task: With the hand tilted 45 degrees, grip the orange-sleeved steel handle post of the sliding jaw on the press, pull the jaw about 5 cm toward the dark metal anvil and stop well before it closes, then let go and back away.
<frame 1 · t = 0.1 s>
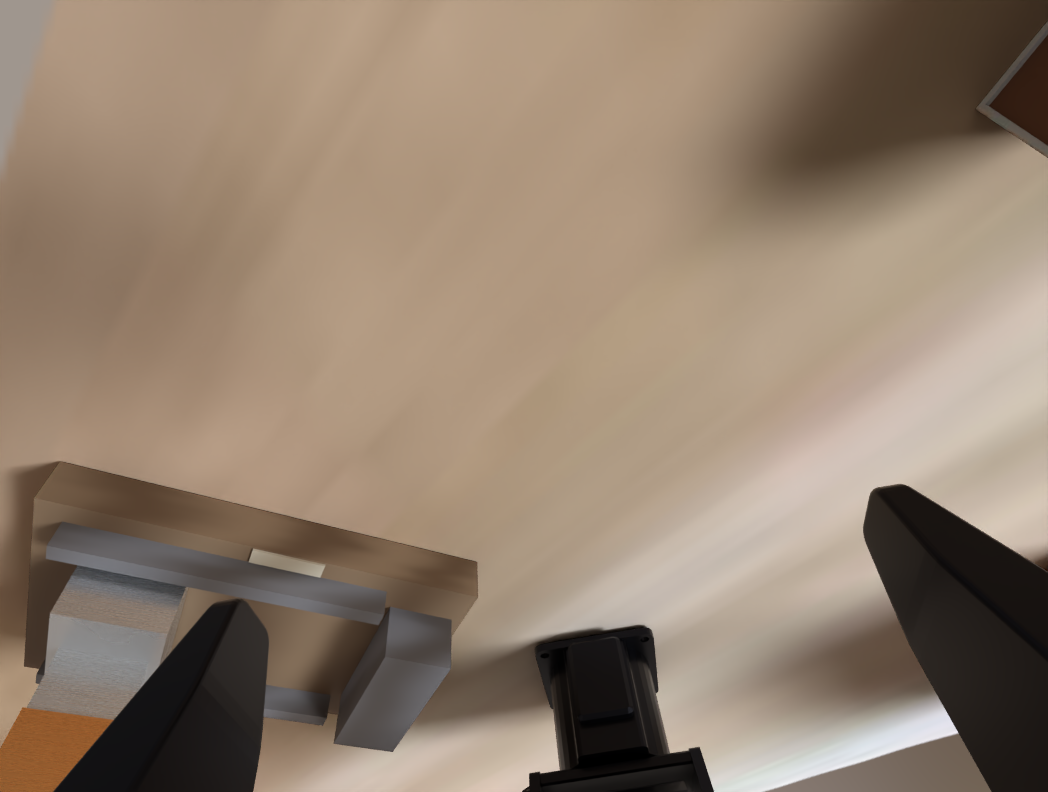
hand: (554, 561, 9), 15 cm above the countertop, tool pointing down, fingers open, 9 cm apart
sliding jaw: (65, 753, 24), point 8 cm above the countertop, slide at 0.0 cm
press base: (148, 573, 31), on the countertop
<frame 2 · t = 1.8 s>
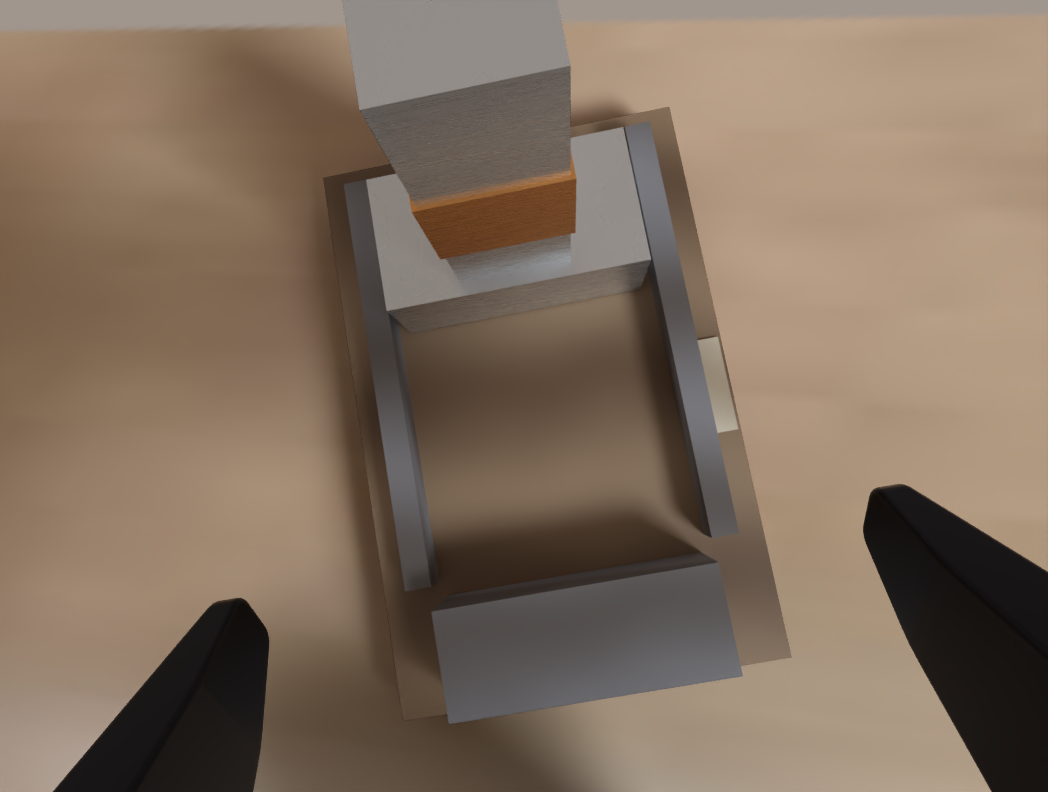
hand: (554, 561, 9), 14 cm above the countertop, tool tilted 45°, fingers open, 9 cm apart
sliding jaw: (493, 171, 16), point 8 cm above the countertop, slide at 0.0 cm
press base: (519, 272, 24), on the countertop
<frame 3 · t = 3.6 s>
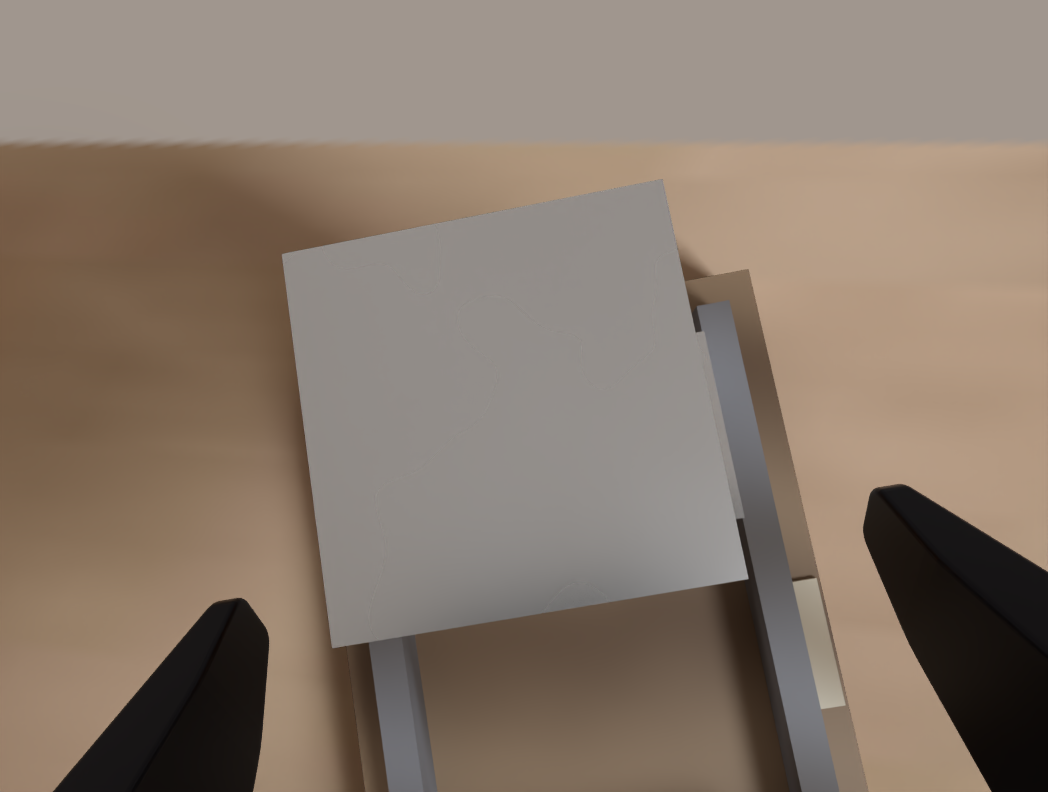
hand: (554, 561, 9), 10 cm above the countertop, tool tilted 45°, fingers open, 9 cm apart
sliding jaw: (539, 446, 11), point 8 cm above the countertop, slide at 0.0 cm
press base: (553, 461, 19), on the countertop
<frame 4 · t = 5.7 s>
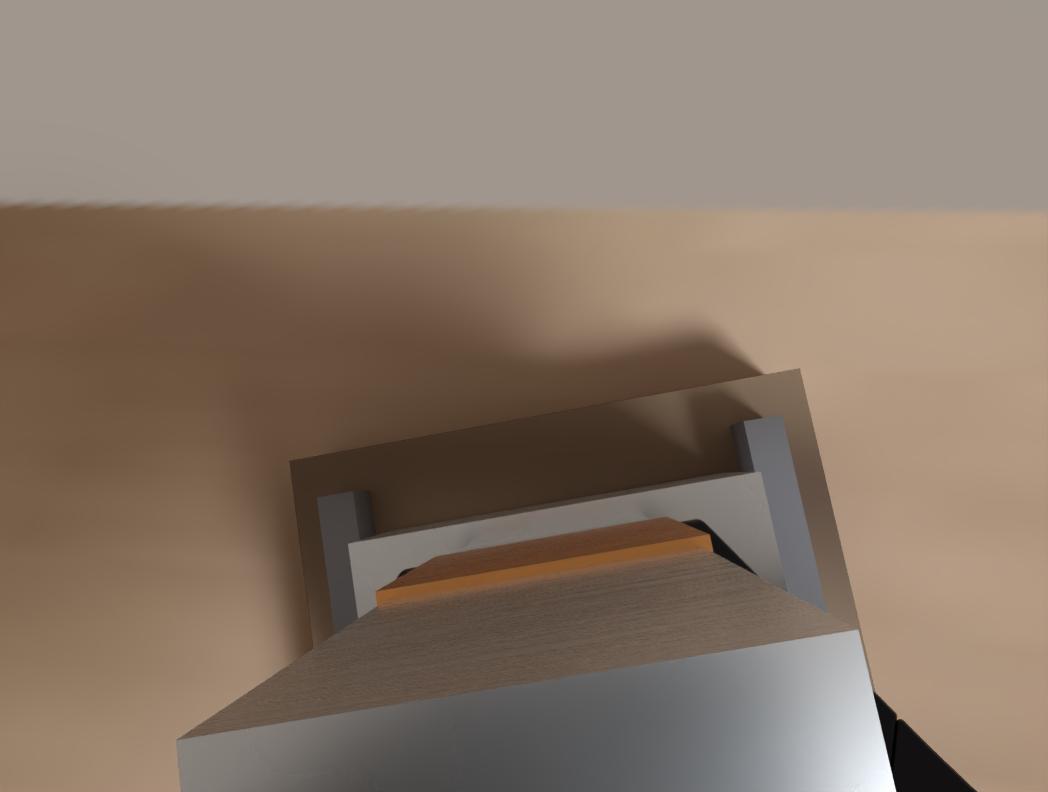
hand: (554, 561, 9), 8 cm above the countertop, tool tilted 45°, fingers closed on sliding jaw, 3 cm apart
sliding jaw: (571, 669, 9), point 8 cm above the countertop, slide at 0.0 cm, touching gripper
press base: (571, 577, 17), on the countertop
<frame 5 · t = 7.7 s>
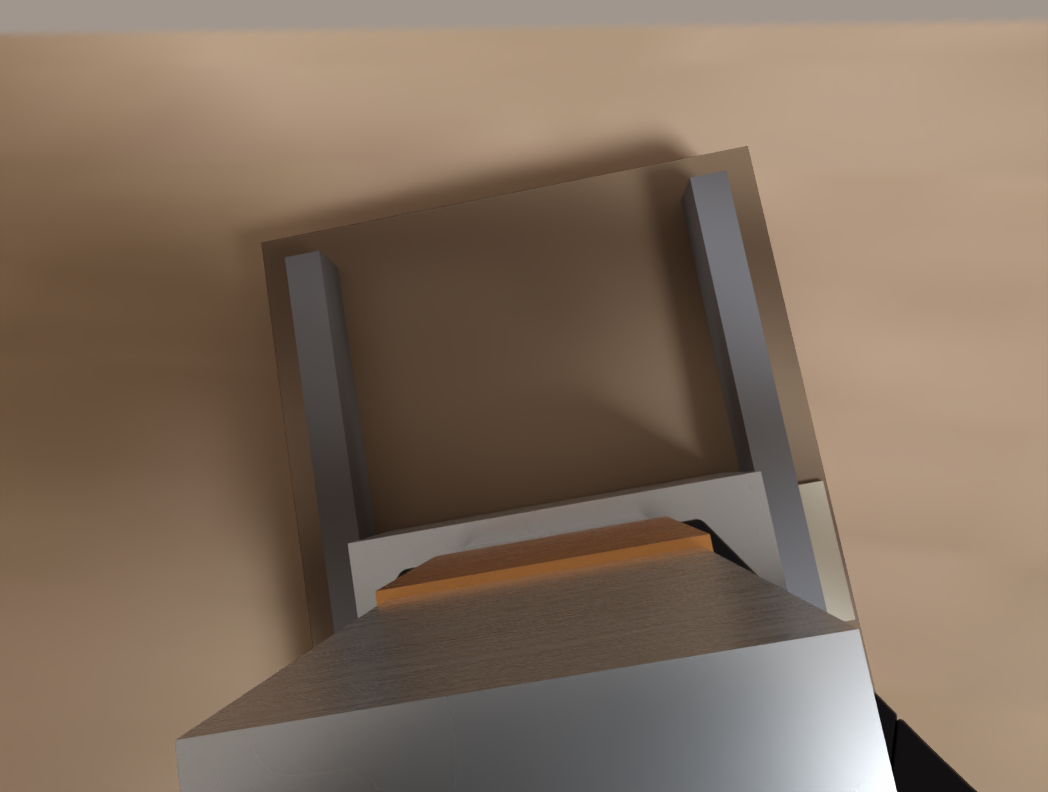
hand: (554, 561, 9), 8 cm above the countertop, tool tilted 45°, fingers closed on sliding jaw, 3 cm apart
sliding jaw: (571, 669, 9), point 8 cm above the countertop, slide at 5.4 cm, touching gripper
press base: (533, 368, 18), on the countertop
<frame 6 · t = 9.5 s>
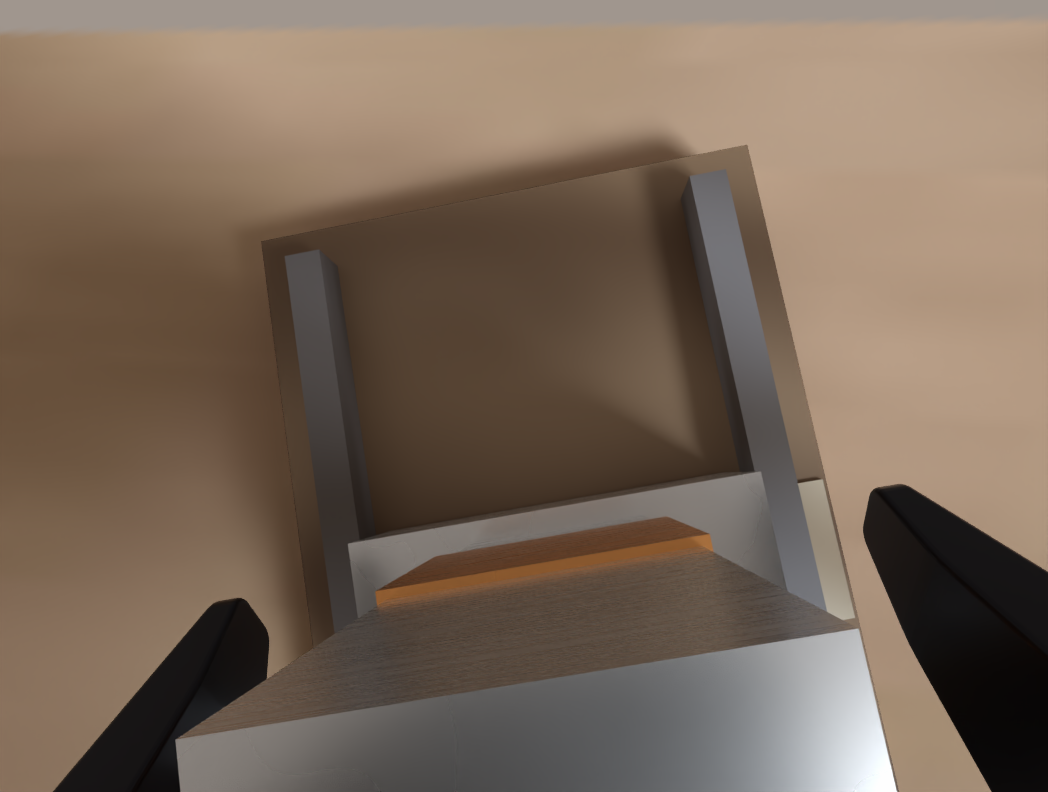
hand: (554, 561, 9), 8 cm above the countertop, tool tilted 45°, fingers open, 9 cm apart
sliding jaw: (571, 669, 9), point 8 cm above the countertop, slide at 5.5 cm
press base: (533, 367, 18), on the countertop
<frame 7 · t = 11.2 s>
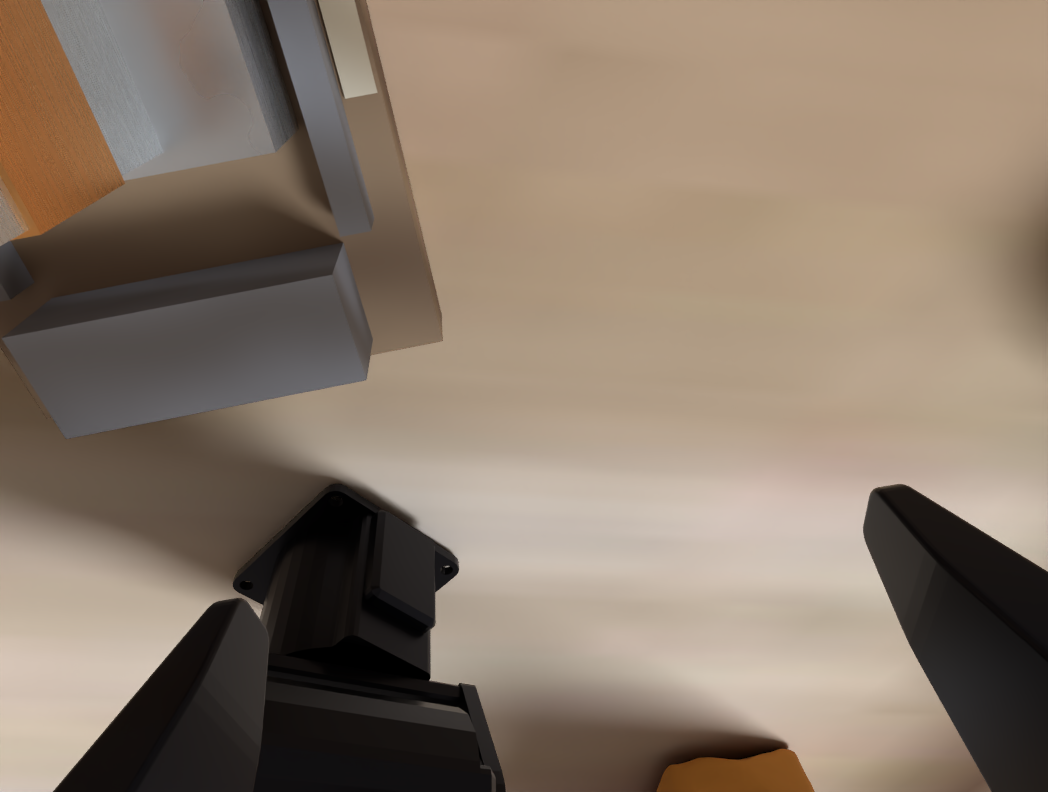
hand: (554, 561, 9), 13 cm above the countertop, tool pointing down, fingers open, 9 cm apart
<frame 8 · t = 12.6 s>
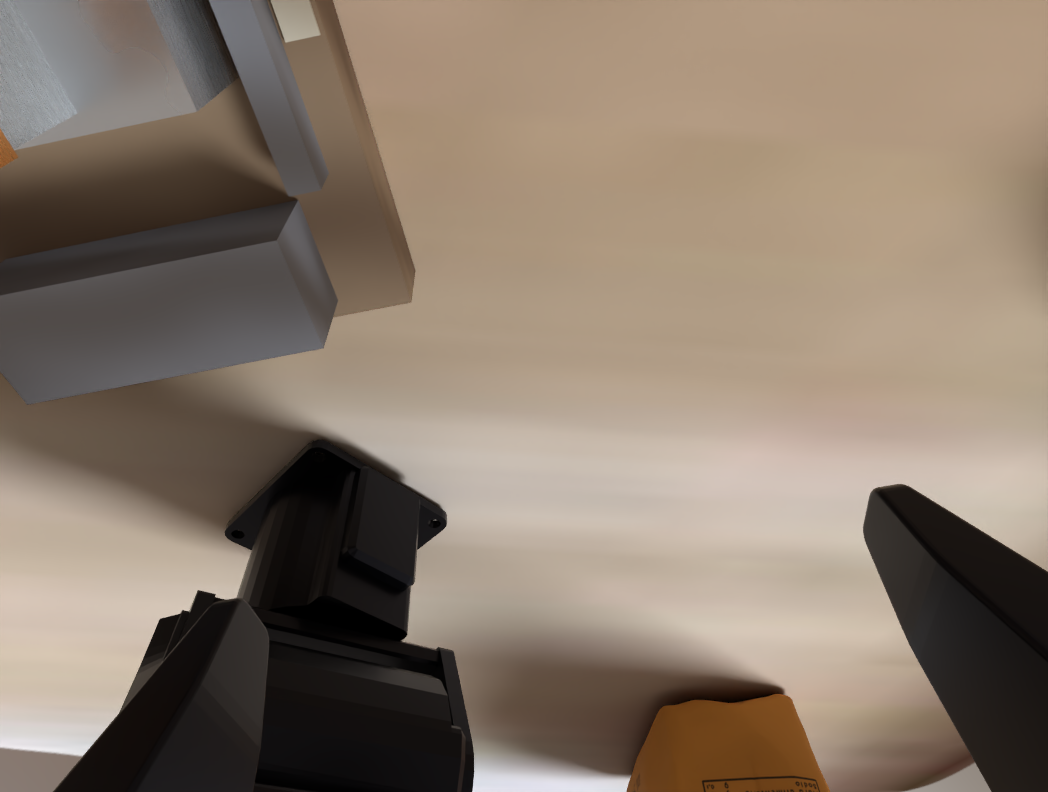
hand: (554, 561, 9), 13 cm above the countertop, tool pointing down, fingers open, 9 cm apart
coffee package: (697, 732, 41), on the countertop
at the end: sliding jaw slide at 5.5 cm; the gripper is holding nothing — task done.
